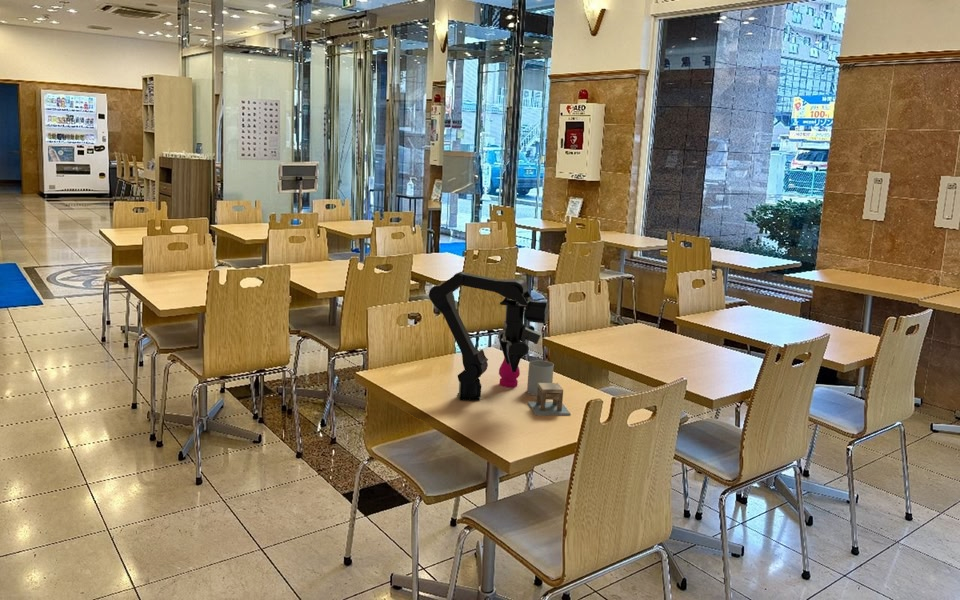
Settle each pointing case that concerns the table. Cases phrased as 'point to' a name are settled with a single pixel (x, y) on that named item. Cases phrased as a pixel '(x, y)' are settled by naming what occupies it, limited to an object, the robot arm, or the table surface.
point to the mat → (548, 409)
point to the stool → (549, 395)
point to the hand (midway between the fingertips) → (511, 367)
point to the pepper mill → (508, 375)
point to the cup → (539, 375)
